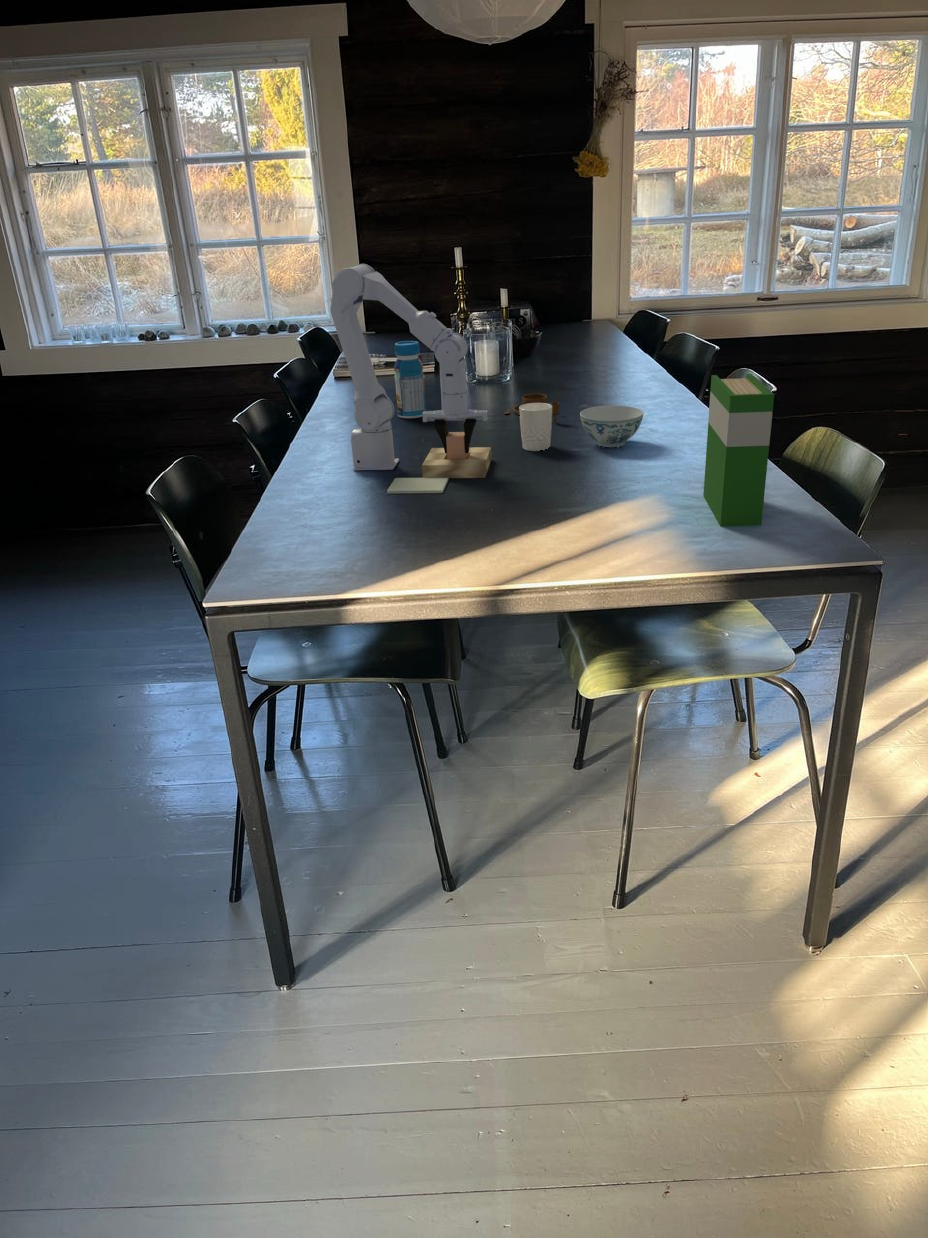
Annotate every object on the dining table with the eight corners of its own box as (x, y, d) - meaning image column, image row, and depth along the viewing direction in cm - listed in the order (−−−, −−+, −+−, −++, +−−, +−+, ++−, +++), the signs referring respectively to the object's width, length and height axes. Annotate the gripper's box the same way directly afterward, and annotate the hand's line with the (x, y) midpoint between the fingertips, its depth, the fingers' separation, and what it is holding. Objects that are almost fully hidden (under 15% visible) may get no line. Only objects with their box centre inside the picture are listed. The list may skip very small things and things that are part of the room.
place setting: (569, 408, 259) (569, 387, 256) (561, 426, 241) (561, 404, 239) (508, 408, 262) (507, 387, 260) (496, 426, 245) (495, 404, 242)
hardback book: (703, 495, 184) (711, 375, 174) (740, 494, 184) (751, 373, 173) (720, 526, 168) (730, 395, 158) (761, 525, 168) (774, 394, 157)
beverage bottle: (414, 420, 253) (408, 346, 244) (391, 417, 258) (384, 344, 249) (433, 413, 259) (428, 341, 250) (410, 410, 264) (405, 339, 255)
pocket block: (422, 478, 204) (422, 465, 203) (432, 460, 217) (431, 447, 215) (485, 477, 202) (484, 464, 201) (491, 459, 215) (490, 447, 213)
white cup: (526, 453, 218) (525, 411, 214) (515, 445, 225) (514, 404, 220) (557, 449, 220) (557, 408, 215) (545, 441, 227) (545, 401, 222)
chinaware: (641, 453, 214) (642, 420, 210) (577, 452, 217) (577, 420, 213) (643, 436, 227) (644, 405, 223) (582, 436, 230) (582, 405, 226)
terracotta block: (448, 471, 208) (446, 436, 204) (450, 466, 211) (448, 432, 208) (465, 471, 207) (463, 436, 204) (467, 466, 211) (466, 431, 207)
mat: (387, 493, 196) (386, 490, 195) (395, 480, 204) (395, 477, 203) (442, 493, 194) (442, 490, 194) (448, 480, 202) (448, 477, 202)
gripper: (418, 396, 199) (422, 457, 205) (484, 395, 197) (486, 456, 203) (423, 389, 205) (427, 448, 211) (487, 388, 203) (490, 447, 209)
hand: (457, 452), depth 208 cm, fingers closed on terracotta block, 4 cm apart
